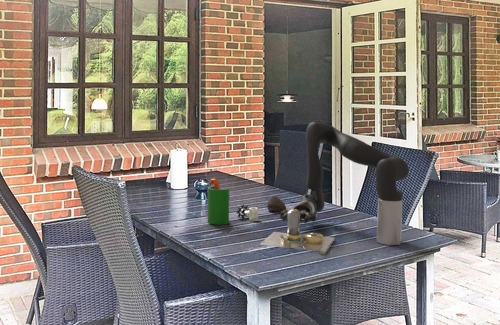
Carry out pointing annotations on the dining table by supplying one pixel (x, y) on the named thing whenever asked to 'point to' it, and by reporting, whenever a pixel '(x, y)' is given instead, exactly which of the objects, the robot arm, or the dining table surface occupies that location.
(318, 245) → the carrier
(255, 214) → the valve
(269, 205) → the stone
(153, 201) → the dining table surface
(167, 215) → the dining table surface
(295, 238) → the silver and brass cylinder
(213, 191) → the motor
